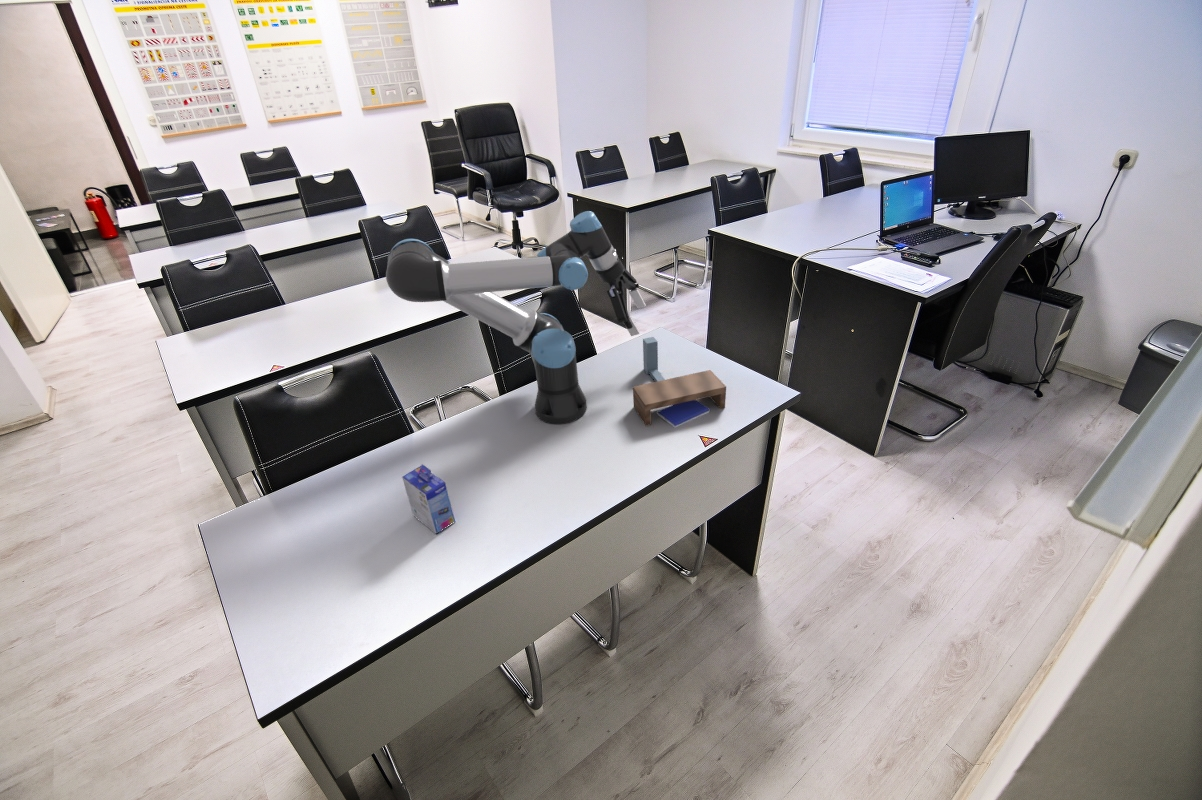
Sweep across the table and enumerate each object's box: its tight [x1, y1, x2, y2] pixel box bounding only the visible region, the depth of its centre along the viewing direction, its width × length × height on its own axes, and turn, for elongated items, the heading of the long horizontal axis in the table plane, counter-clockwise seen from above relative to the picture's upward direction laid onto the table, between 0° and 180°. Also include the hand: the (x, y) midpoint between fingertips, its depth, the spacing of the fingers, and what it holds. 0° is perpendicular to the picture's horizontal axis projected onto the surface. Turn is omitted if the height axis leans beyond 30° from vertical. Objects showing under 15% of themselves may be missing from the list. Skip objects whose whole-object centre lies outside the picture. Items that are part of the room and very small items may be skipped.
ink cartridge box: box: [401, 464, 456, 534], centre depth 127 cm, size 10×6×14 cm, turn 48°
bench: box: [632, 369, 727, 427], centre depth 160 cm, size 24×10×7 cm, turn 107°
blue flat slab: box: [656, 399, 710, 428], centre depth 160 cm, size 2×8×12 cm
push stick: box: [642, 336, 666, 382], centre depth 171 cm, size 4×19×11 cm, turn 17°
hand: (638, 320), depth 172 cm, fingers open, 13 cm apart
